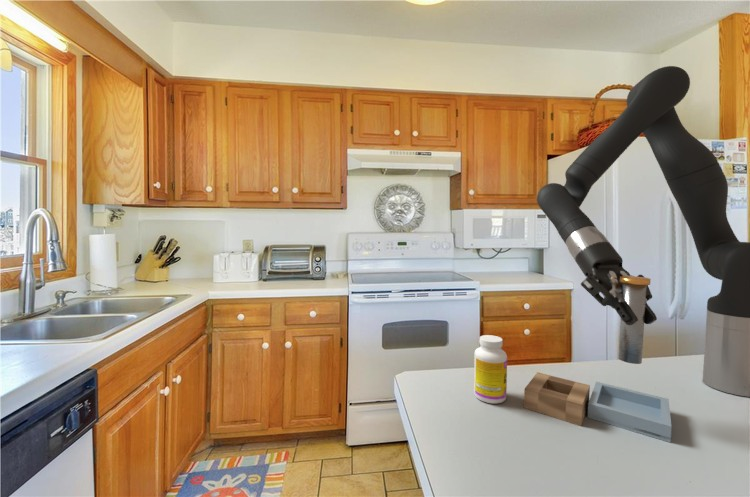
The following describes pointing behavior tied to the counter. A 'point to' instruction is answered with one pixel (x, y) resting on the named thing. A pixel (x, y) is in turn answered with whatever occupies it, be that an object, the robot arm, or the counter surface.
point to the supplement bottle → (490, 370)
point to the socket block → (557, 398)
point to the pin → (634, 333)
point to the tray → (631, 410)
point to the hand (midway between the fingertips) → (642, 322)
